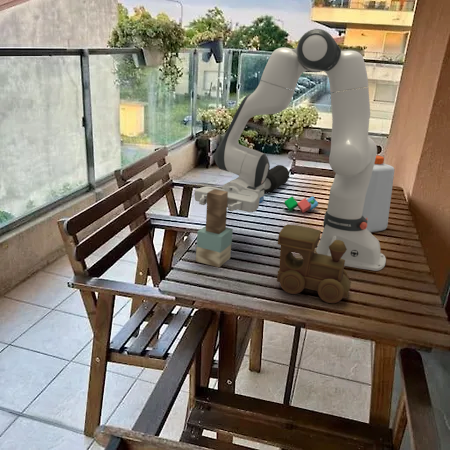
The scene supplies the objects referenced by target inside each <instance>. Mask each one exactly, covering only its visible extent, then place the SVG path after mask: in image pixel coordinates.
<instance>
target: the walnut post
mask: <svg viewBox="0 0 450 450" xmlns="http://www.w3.org/2000/svg"><path fill="white" fill-rule="evenodd" d="M227 198H228V192H227V191H221V190H216V189H214V190H212V191H210V192H208V193H207V203H206V213H205V214H206V215H205V216H206V217H205V218H206V219H205V226H206V231H208V232H212V233H217V234H220V233H221V232H223V231H224V230H226V227H227V213H228V212H227V211H228V208H227Z"/></svg>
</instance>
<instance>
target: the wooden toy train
mask: <svg viewBox="0 0 450 450" xmlns="http://www.w3.org/2000/svg"><path fill="white" fill-rule="evenodd" d="M321 234H322V230H320V229H317V228H316V229H315V228H313V227H307V226H303V225H297V224H289V223H287V224H286V225H284V226H283V227H282V229H281V230H280V232H279V234H278V236H277V237H278V239H277V245H278V246H280V251H279V268H278V270H277V277H276V282H277V283H279V285H280V287H281V289H282V290H283V291H285V293H287V294H290V295H297V294H300V293H301V292H303V290H304V289H308V290H312V291H316V292H317V294H318V297H319V298H320V299H321V300H322V301H324V302H325V303H327V304H336V303H339V302H340V301H342V300H343V298H346V299H347V298H348V296H349V292H350V289H351V284H352V282H351V280H350V279H349V274H348V272H347V271H346V269H344V268H345V266H344V264H345V260H344V259H341V257H342V256H343V254H344V253H345V252H346V250H347V248H346V246H345V244H344V242H343V241H341V240H335V241H334V242H333V243H332V244H331V245H330V246H329V249H330V253H331V256H328V255H323V254H318V253H317V252H316V248H317V246H318V244H319V242H320V239H321ZM293 252H295V253H296V254H298V255H300V256H301V257H295V255H294V254H293ZM315 252H316V253H315Z"/></svg>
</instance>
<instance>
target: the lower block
mask: <svg viewBox="0 0 450 450" xmlns="http://www.w3.org/2000/svg"><path fill="white" fill-rule="evenodd" d="M195 252H196V253H195V262H197V263H200V264H204V265H207V266H212V267H215V268H220V267H222V265H224V264H225V263H226V262H227V261H229V260H230V259H231V252H232V244H231V245H229V246H228V247H227V248H226V249H224V250H223V251H222V252H221V253H220V252H216V251H212V250H208V249H204V248H200V247H197V246H196V248H195Z"/></svg>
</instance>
